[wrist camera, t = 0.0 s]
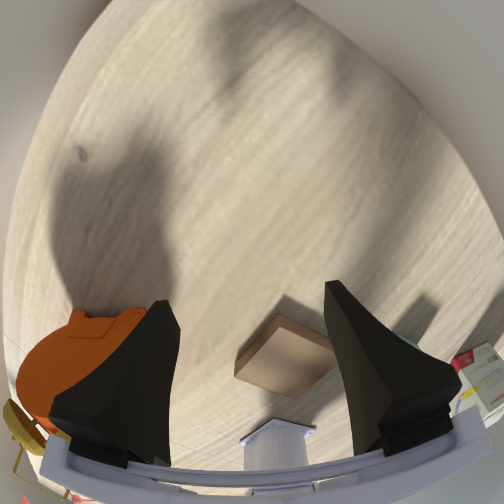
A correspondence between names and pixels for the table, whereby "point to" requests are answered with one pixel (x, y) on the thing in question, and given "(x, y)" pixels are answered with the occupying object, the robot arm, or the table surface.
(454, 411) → the ink box
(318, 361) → the walnut slab
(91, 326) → the alarm clock
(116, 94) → the table surface
